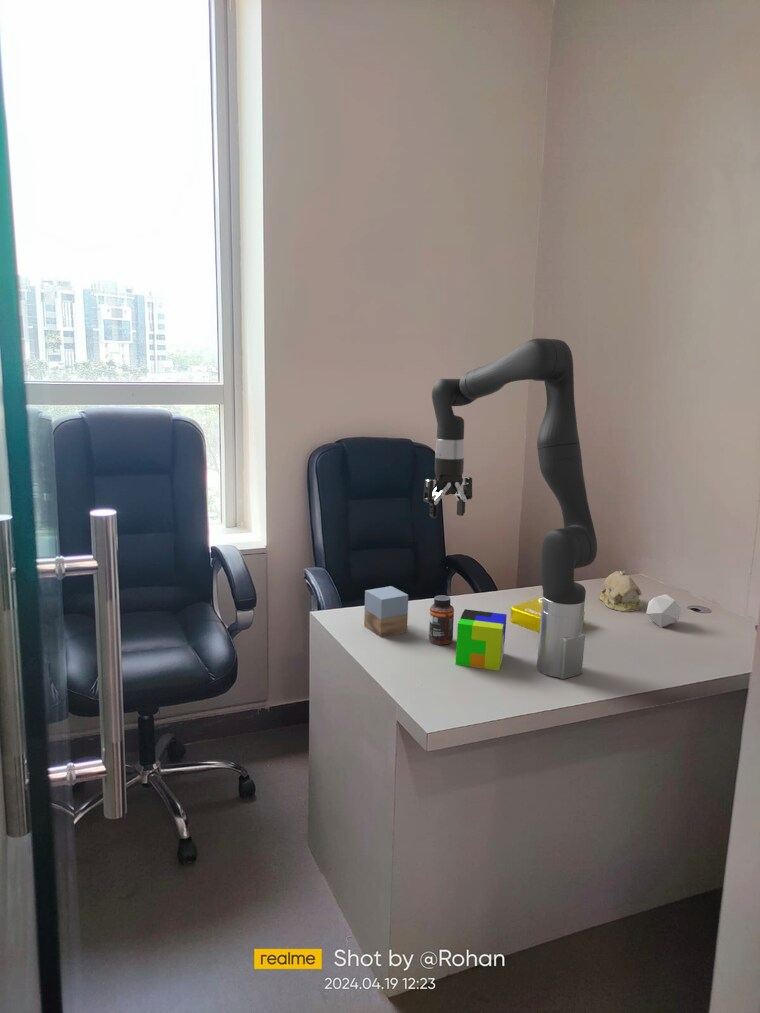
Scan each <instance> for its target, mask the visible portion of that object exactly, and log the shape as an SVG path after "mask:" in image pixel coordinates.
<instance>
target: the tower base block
mask: <svg viewBox="0 0 760 1013" xmlns="http://www.w3.org/2000/svg"><path fill="white" fill-rule="evenodd" d="M408 615H409V613H408V614H403V615H398V616H393V617H388V618H383V619H380V618H379V617H377V616H375V615H374V614H372V613H370V612H369V611H367V610H365V609H364V618H363V620H364V624H363V627H364V628H366V629H367V630H369V631H371V633H374V634H375V635H377V636H378V637H380V638H383V637H388V636H394V635H397V634H402V633H403V634H404V633H407V632H408V618H409V617H408Z"/></svg>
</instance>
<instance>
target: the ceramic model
mask: <svg viewBox="0 0 760 1013" xmlns="http://www.w3.org/2000/svg"><path fill="white" fill-rule="evenodd" d="M603 586H605V588H602V589H601V590H600V593H599V594H600V595H599V600H601V601H602V602H603V603H604V604H605V606H606V607H607V608H609V609H612V610H615V611H619V612H625V613H628V612H631V611H632V610H634V611H638V610H637V609H640V610H641V609H643V602H642V601H641V600H640V596H642V591H641V589H640V587H639V586H638V585H637V584H636V582H635V581H634V579H633V578H632V577H631V576H630V575H627V572H626V571H625V570H615V571H614V572H613V573H610V574H609V575H608V576H607V577H606V578H605V581H603Z"/></svg>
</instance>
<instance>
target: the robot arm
mask: <svg viewBox="0 0 760 1013" xmlns="http://www.w3.org/2000/svg"><path fill="white" fill-rule="evenodd" d="M574 376H575V375H574V359H573V354H572V350H571V348H570V347H569V345H568V344H567V343H566V341H563V340H561V339H557V338H554V339H553V338H543V337H542V338H540V337H538V338H536V337H535V338H532V339H529V340H527V341H526V342H525V343H522V344H521V345H520V346H518V347H517V348H516V347H515V349H513V350H512V351H511V352H509V353H507V354H505V355H504V356H502V357H501V358H499V359H497V360H495V361H492V362H490V363H488V364H485V365H482V366H480V367H477V368H475V369H472V370H470V371H467V372H465V373H464V374H463V375H462V376H461V377H460V378H441V379H437V381H435V383H434V385H433V386H432V390H431V400H432V405H433V409H434V414H435V418H436V423H437V425H436V442H435V451H434V452H435V455H434V473H435V478H434V479H430V478H426V479H425V480H424V485H423V494H422V495H423V496H422V497H423V498H422V500H423V502H426V503H428V504H429V513H428V514H429V516H430V518H431V519H434V520H435V519H438V516H439V514H438V512H439V511H438V510H439V502H440V500H441V499H443V497H444V496H449V495H453V496H455V497H456V499H457V501H456V515H457V516H460V517H462V516H464V514H465V513H466V502H467V501H468V500H472V498H473V478H472V477H470V476H466V475H465V476H463V474H464V467H465V466H464V464H465V461H464V460H465V441H464V440H465V439H464V438H465V419H464V418H463V417H462V416H459V415H455V414H454V410H453V407H463V406H466V405H470V404H472V403H474V402H475V401H476V400H477V399H480V398H481V399H482V398H483V397H486V396H489V395H492V394H495V393H496V392H498V391H500V390H501V389H502V388H503V387H504V386H506V385H507V384H509V383H512V382H513V383H514V382H517V381H518V382H519V381H520V382H521V381H530V380H531V381H536V382H537V381H539V382H544V386H545V394H546V407H545V412H544V415H543V419H542V422H541V424H540V428H539V431H538V435H537V438H536V448H537V449H536V450H537V457H538V464H539V469H540V473H541V475H542V477H543V479H544V481H545V482H546V484H547V485H548V487H549V489H550V490H551V492H552V493H553V495H554V496H555V497H556V500H557V501H558V504H559V507H560V509H561V515H562V520H563V527H561V528H555V529H551V530H550V531H548V532H547V533H546V534H545V536H544V538H543V541H542V544H541V550H540V551H541V552H540V584H541V587H542V597H543V598H542V610H541V622H540V633H539V636H538V637H539V638H538V647H537V650H538V651H537V658H536V659H537V664H536V668H537V669H538V671H539V672H540V673H543V674H544V675H547V676H550V677H553V678H559V679H561V680H564V679H569V678H572V677H573V678H574V677H576V676H580V675H582V674H583V673H582V672H583V665H584V664H583V662H584V653H585V652H584V650H585V642H586V635H585V634H584V633H583V627H584V625H583V615H584V612H585V603H586V594H587V593H586V588H585V586H584V585H582V584H581V583H579V582H576V581H575V569H579V568H584V567H587V566H589V565H591V564H592V563H594V561H595V559H596V557H597V554H598V543H597V536H596V531H595V527H594V523H593V519H592V518H593V517H592V515H591V510H590V507H589V501H588V495H587V490H586V489H587V488H586V483H585V477H584V470H583V469H584V468H583V460H582V451H581V450H582V449H581V443H580V438H579V432H578V421H577V412H576V404H575V403H576V402H575V385H574V384H575V382H574V381H575V379H574ZM584 616H585V615H584Z"/></svg>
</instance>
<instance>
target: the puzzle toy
mask: <svg viewBox="0 0 760 1013" xmlns="http://www.w3.org/2000/svg"><path fill="white" fill-rule="evenodd" d="M506 628H507V614H506V613H498V612H491V611H482V610H473V609H468V608H467V609H466V608H465V609H464V610H463V612H462V614H461V616H460V618H459V621H458V622H457V629H456V630H457V631H456V647H455V649H456V650H455V665H458V666H464V667H473V668H479V669H487V670H494V671H500V668H501V665H502V660H503V657H504V655H505V645H506V644H505V641H506V631H507V630H506Z"/></svg>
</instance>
